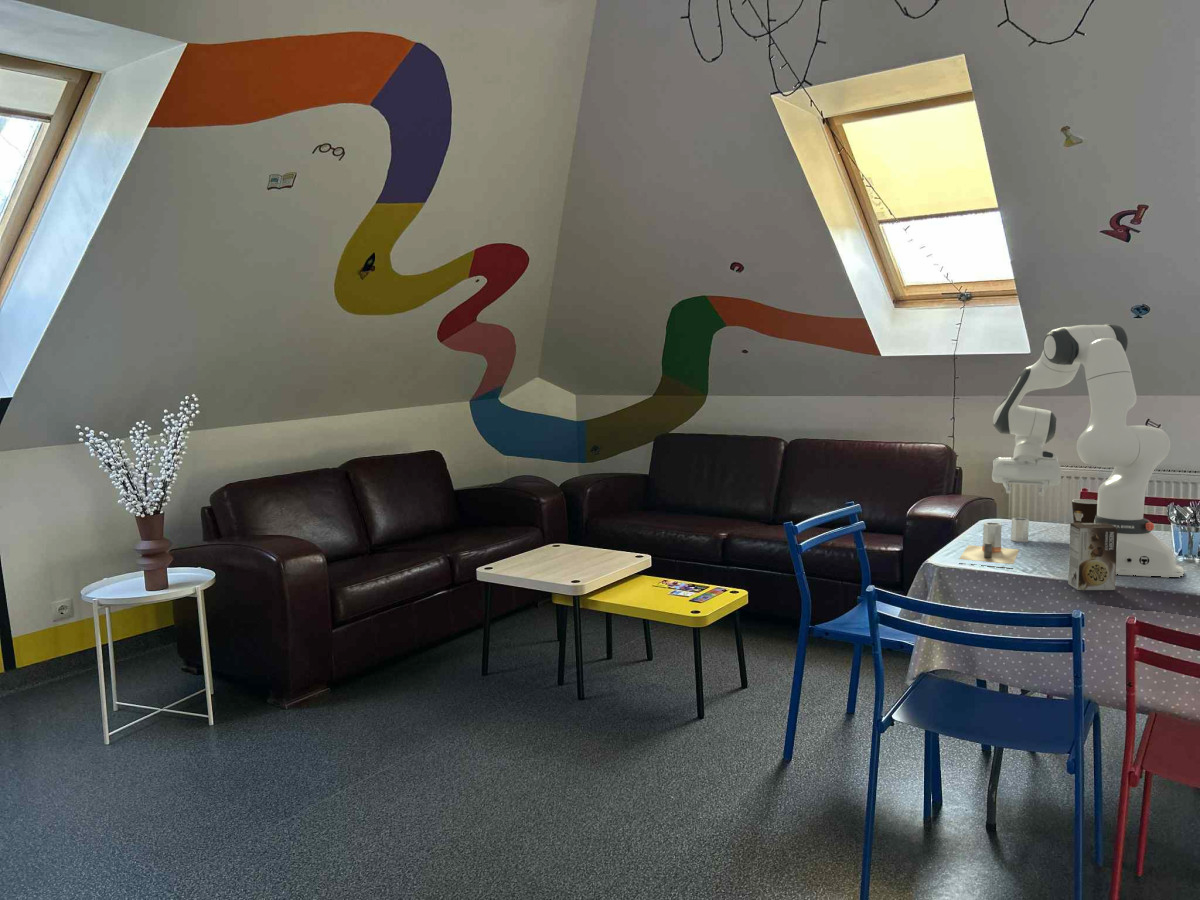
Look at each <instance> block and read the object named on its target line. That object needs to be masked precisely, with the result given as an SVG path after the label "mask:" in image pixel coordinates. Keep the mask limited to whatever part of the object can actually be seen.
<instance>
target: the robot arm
mask: <svg viewBox="0 0 1200 900" xmlns="http://www.w3.org/2000/svg"><path fill="white" fill-rule="evenodd" d="M1042 345H1043V350H1042V352H1041V355H1040V357H1039V359H1038V360H1036V362H1035V363H1033V364H1032V365H1029V366H1027V367H1024V368H1023V370H1021V372H1020V374H1019V375H1018V376H1017V378H1016V379H1015V382H1014V383H1013V384H1012V386H1011V388H1010V390H1008V391H1009V392H1008V393H1007V394H1006V396H1005V398H1004V399H1003V401H1002V402H1001V403H1000V404H999V406H998V407H997V408H996V410H995V412H994V414H993V418H992V426H993V427H994V428H995V429H996V430H997V432H998V433H1000V434H1004V435H1015V438H1014V443H1015V446H1014V449H1013V457H998V458H995V459H994V460H993V461H992V468H993V469H992V472H991V480H992V481H993V482H994V483H997V484H1002V485H1003V487H1004V488H1005V493H1006V494H1012V486H1011V485H1009V484H1017V485H1030V486H1031V485H1035V486H1036V485H1037V486H1041V487H1038V490H1037V491H1038V496H1045V491H1047V490H1048V488H1049V486H1051V487H1052V486H1054V487H1058V486H1060V485H1061V484H1062V470H1061V465H1060V463H1059V459H1058V458H1059V456H1058V454H1057V453H1055V452H1051V451H1047V450H1044V448H1043V447H1044V446H1045V444H1047V443H1049V442H1050V441H1051V440H1053V438H1054V437H1055V435H1056V429H1057V417H1056V415H1055V414H1054V412H1053V411H1052V410H1048V409H1042V408H1038V407H1030V406H1026V405H1025V406H1024V405H1020V403H1021V401H1022V400H1023V398H1024V397H1025V396H1026V394H1028V393H1030V392H1032V391H1037V390H1047V389H1056V388H1061V387H1063V386H1066V385H1068V384H1070V383H1071V382H1072V381H1073V380H1074V378H1075V377H1076V375H1077V373H1078V371H1079V369H1080V366H1081V365H1082V366H1083V368H1084V374H1085V381H1086V385H1087V390H1088V391H1087V392H1088V397H1089V403H1090V416H1089V421H1088V423H1087V427H1086V428H1085V430H1083V432H1082V433H1081V434H1080V435H1079V436H1078V439H1077V441H1076V453H1077V455H1078V458H1079V459H1080V460H1081V461H1082V463H1084V464H1086V465H1088V466H1093V467H1097V468H1098V467H1099V468H1113V470H1112V472H1111V474H1110V475H1109V477H1108V478H1107V479H1106V480H1104V481H1103V482H1102V483H1100V485H1099V486H1098V488H1097V500H1096V501H1097V515H1095V519H1094V523H1108V524H1111V525H1113V526H1114V527H1117V549H1116V575H1117V574H1118V575H1117V576H1133V575H1134V576H1135V575H1136V576H1137V577H1138V576H1139V577H1151V576H1161V577H1160V578H1169V577H1179V578H1181V577H1180V576H1182V577H1183V576H1184V575H1185V571H1184V568H1183V567H1182V566H1180V565H1178V564H1176V560H1175V559H1176V558H1175V554H1174V551H1173V550H1172V548H1171V547H1170V546H1169V545H1168V544H1167V543H1165V542H1163V540H1161V539H1160V538H1158V537H1157V536H1156V535H1155V534H1153V532H1152V531H1153V530H1154V529H1155V524H1154V523H1153V522H1151V520H1149V519H1147V518H1145V517H1144V514H1145V513H1144V511H1145V499H1146V491H1147V488H1148V484H1149V482H1150V479H1151V477H1152V475H1153V474H1154V471H1155V470H1156V468H1157V466H1159V464H1160V463H1162V462H1163V461H1164V460H1165V459H1166V458H1167V457H1168V456H1169V453H1170V451H1171V440H1170V437H1169V435H1168V433H1166V431H1164V430H1163V429H1162V428H1158V427H1155V426H1150V425H1149V426H1148V425H1145V424H1144V425H1142V424H1141V425H1127V415H1128V413H1129V412H1128V411H1129V410H1132V408H1134V406H1135V405H1136V403H1137V401H1138V400H1137V399H1138V397H1137V391H1136V386H1135V383H1134V378H1133V374H1132V373H1133V372H1132V369H1131V366H1130V363H1129V359H1128V356H1127V354H1126V352H1127V349H1128V346H1129V339H1128V335H1127V333H1126V331H1125V329H1124V328H1123V327H1122V326H1121V325H1118V324H1112V323H1111V324H1110V323H1106V324H1088V325H1087V324H1078V325H1073V326H1063V327H1062V326H1061V327H1058V328H1054V329H1052V330H1050V331H1049V332H1047V334H1046V335H1045V337H1044V340H1043V344H1042ZM1183 574H1184V575H1183ZM1136 576H1135V577H1136Z"/></svg>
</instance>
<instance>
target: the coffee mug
mask: <svg viewBox="0 0 1200 900" xmlns="http://www.w3.org/2000/svg"><path fill="white" fill-rule="evenodd" d="M1097 501H1098V500H1095V499H1085V498H1084V499H1083V498H1080V499H1078V498H1077V499H1072V500H1071V507H1072V519H1073V523H1094V519H1095V515H1097Z"/></svg>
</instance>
